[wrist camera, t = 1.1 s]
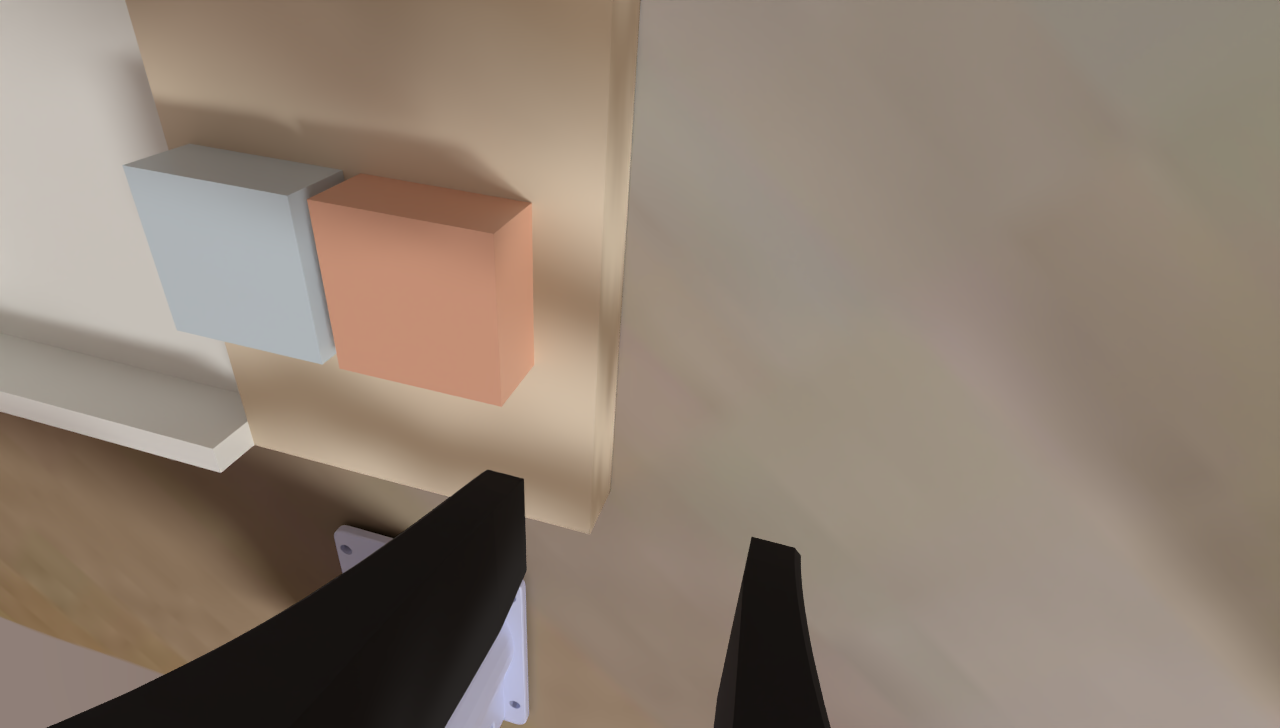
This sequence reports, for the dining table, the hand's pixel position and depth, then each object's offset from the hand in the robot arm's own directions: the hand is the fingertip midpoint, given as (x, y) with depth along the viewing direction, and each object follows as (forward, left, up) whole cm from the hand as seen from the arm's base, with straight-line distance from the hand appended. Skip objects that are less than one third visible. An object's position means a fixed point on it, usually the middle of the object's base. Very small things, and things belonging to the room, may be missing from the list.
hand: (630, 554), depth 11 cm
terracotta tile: (0, +7, -7) cm, 10 cm away
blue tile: (0, +12, -7) cm, 14 cm away
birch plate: (0, +9, -9) cm, 13 cm away
